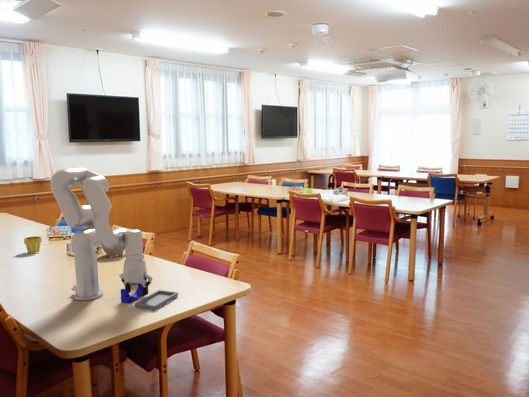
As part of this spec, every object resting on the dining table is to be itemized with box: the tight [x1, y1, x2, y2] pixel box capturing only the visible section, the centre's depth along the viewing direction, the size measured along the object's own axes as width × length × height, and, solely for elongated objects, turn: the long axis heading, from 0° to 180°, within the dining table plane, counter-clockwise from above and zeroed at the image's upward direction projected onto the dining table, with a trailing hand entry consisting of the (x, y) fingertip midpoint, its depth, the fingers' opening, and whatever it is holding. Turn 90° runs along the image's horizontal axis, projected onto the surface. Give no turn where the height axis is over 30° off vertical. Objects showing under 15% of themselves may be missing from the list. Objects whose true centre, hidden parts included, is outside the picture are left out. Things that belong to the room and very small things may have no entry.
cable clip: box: [120, 283, 144, 305], centre depth 204 cm, size 12×4×6 cm, turn 150°
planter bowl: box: [100, 244, 125, 257], centre depth 283 cm, size 16×16×11 cm
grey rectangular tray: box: [134, 289, 179, 312], centre depth 200 cm, size 10×18×2 cm, turn 159°
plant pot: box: [23, 235, 43, 254], centre depth 293 cm, size 10×10×10 cm
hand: (136, 293), depth 204 cm, fingers open, 9 cm apart
